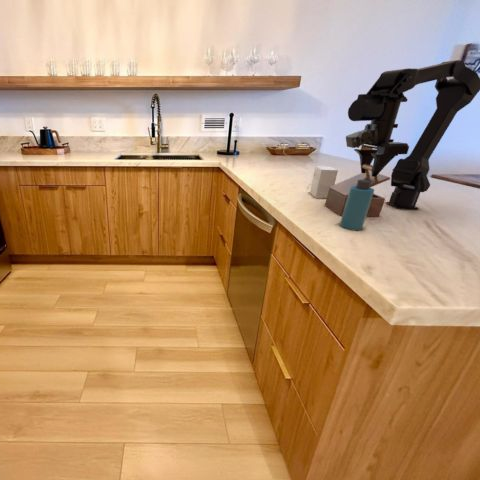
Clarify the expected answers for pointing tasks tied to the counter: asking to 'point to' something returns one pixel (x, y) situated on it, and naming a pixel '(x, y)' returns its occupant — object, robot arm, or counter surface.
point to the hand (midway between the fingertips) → (368, 174)
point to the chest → (339, 201)
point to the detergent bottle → (357, 205)
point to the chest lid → (345, 185)
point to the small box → (322, 181)
